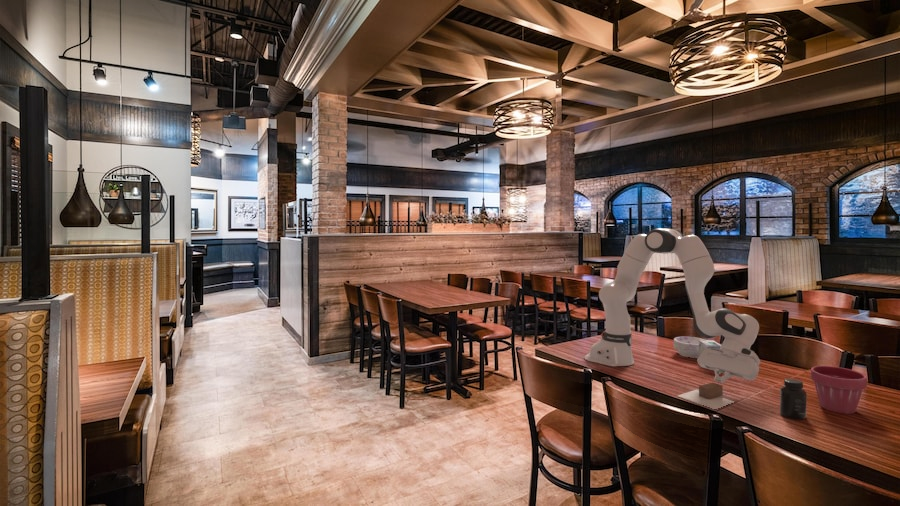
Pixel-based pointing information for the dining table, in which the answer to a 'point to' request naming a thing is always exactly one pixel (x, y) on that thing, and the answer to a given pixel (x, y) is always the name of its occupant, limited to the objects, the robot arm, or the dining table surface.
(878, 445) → the dining table surface
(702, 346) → the light bulb box
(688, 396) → the plate
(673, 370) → the dining table surface
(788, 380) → the supplement bottle
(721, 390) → the wooden block
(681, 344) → the paper bowls
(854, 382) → the plant pot
